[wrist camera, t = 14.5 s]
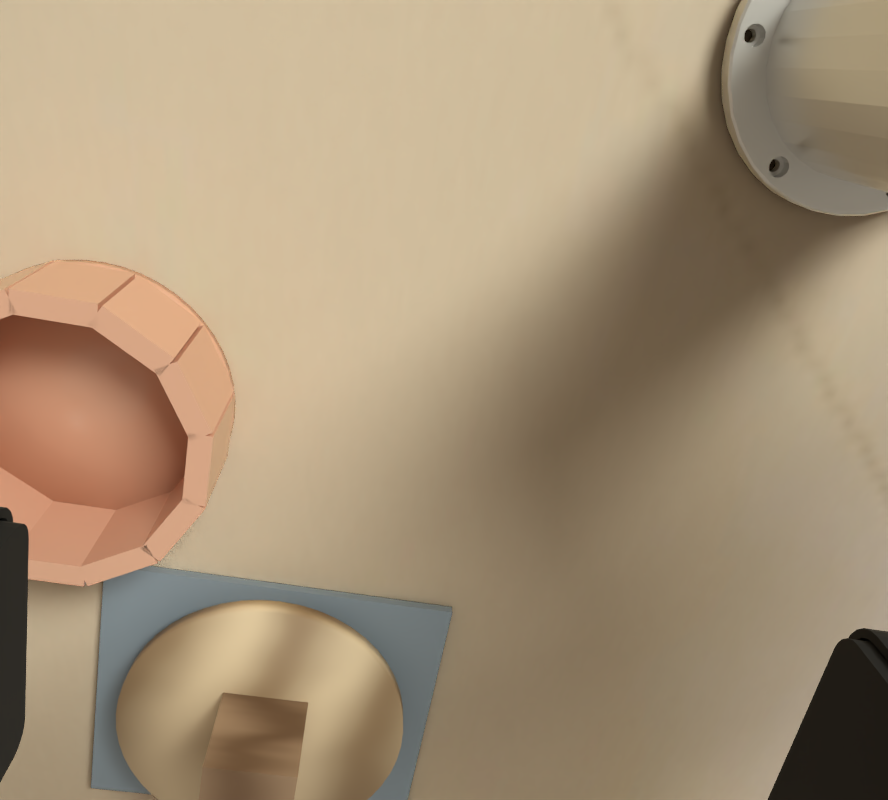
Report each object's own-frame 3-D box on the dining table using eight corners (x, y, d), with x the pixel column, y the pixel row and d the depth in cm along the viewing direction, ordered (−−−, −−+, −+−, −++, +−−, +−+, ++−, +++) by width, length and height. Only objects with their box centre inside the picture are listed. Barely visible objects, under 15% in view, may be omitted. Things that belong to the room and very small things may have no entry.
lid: (425, 608, 45) (429, 701, 39) (379, 818, 50) (376, 930, 44) (135, 570, 43) (89, 660, 37) (119, 791, 49) (76, 904, 42)
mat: (451, 606, 46) (452, 612, 45) (402, 813, 51) (402, 820, 51) (107, 560, 44) (104, 565, 43) (93, 781, 49) (90, 788, 48)
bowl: (250, 287, 39) (225, 325, 33) (221, 531, 44) (195, 601, 38) (-49, 234, 37) (-127, 265, 32) (-45, 493, 42) (-113, 560, 36)
